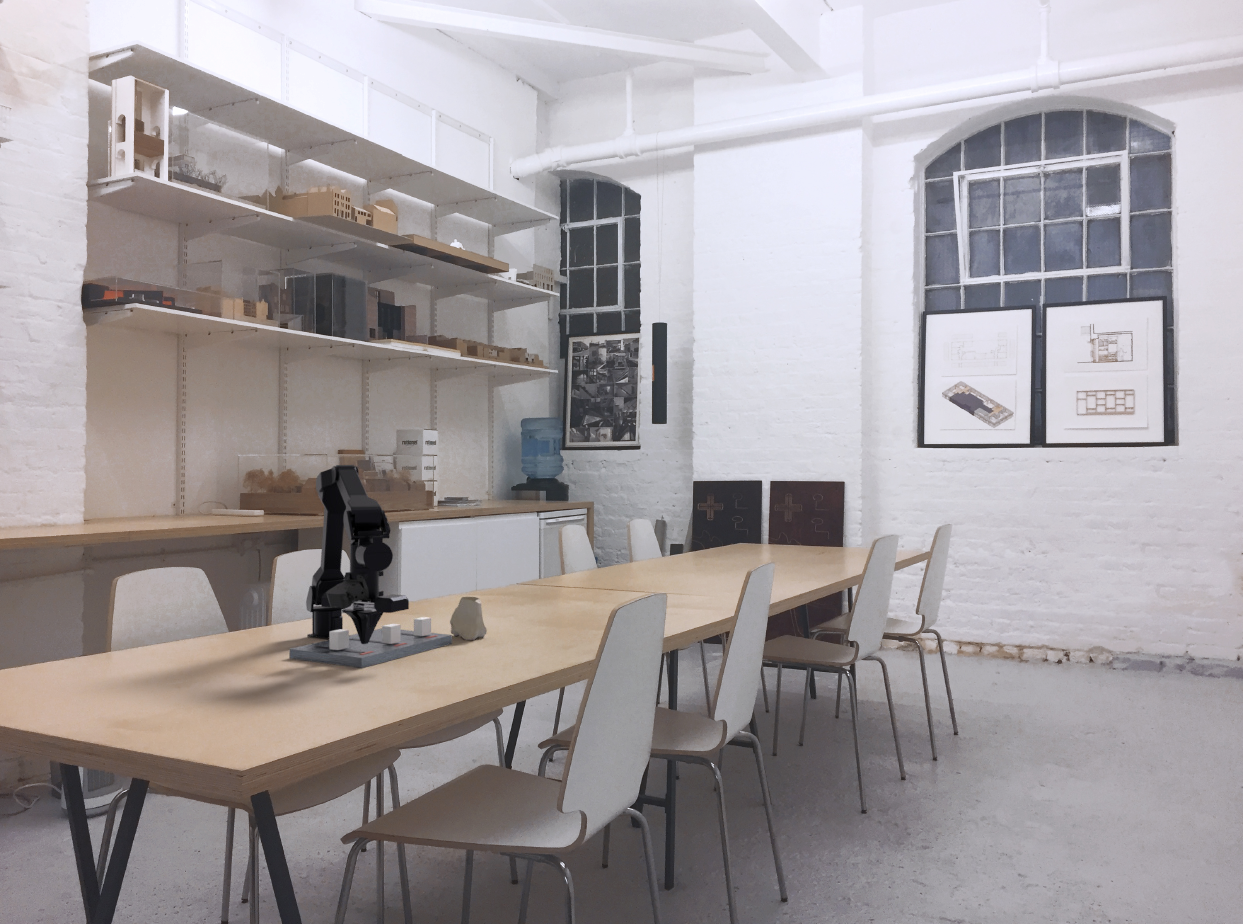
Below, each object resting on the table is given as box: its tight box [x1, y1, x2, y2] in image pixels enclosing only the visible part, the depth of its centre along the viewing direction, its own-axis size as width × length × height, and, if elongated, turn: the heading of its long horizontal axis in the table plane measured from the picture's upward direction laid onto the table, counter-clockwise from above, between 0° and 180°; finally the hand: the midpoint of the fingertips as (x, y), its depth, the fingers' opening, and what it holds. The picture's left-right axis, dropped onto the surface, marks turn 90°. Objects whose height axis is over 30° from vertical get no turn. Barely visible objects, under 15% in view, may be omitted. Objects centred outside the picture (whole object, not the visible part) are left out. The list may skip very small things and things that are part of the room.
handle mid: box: [381, 623, 402, 644], centre depth 197 cm, size 2×3×4 cm
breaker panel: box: [288, 627, 453, 669], centre depth 199 cm, size 20×28×2 cm
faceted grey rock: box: [449, 596, 488, 641], centre depth 215 cm, size 9×8×10 cm
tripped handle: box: [328, 628, 350, 650], centre depth 190 cm, size 2×3×4 cm
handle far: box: [413, 616, 432, 636], centre depth 206 cm, size 2×3×4 cm
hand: (364, 643), depth 187 cm, fingers closed
